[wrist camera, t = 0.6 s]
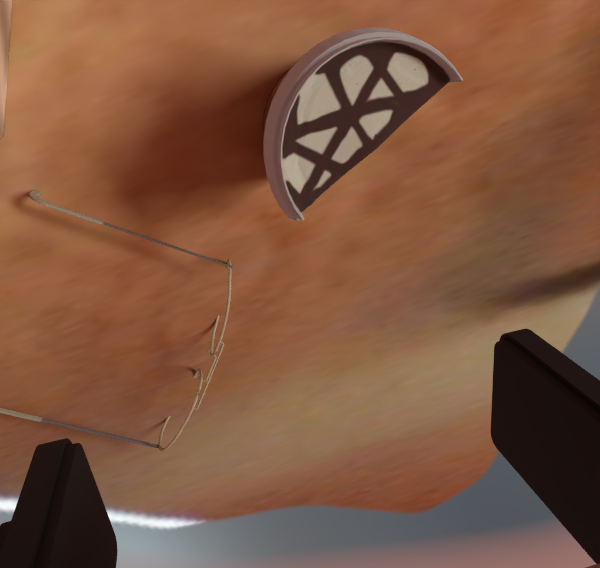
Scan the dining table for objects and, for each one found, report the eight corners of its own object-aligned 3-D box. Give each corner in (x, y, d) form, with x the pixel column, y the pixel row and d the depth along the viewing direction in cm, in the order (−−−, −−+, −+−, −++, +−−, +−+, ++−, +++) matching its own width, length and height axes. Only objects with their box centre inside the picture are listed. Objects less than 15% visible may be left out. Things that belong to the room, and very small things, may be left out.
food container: (345, -8, 34) (410, -34, 25) (396, 71, 37) (471, 73, 28) (205, 120, 35) (219, 140, 26) (264, 188, 38) (296, 227, 29)
